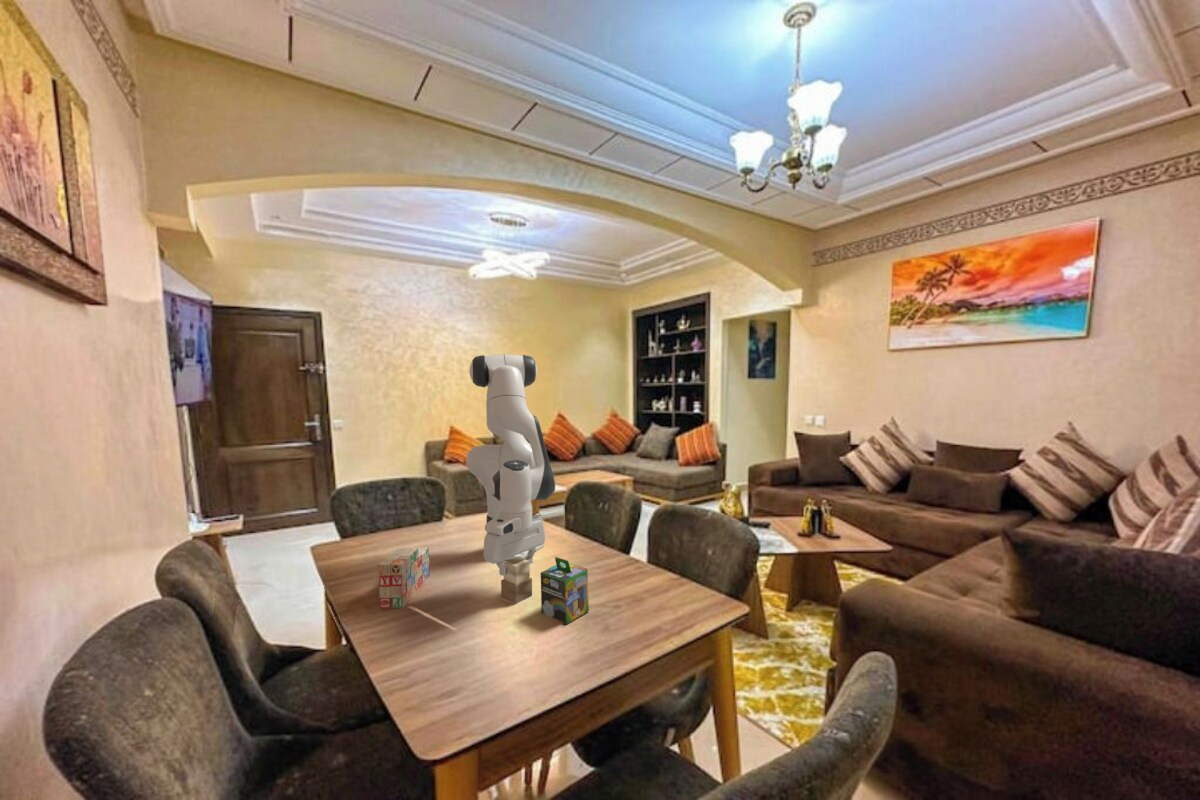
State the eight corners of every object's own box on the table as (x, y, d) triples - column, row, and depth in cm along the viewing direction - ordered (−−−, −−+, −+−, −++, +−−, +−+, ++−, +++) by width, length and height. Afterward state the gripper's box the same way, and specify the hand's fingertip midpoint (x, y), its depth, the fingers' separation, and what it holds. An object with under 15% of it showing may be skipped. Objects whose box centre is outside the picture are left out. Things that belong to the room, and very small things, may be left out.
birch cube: (517, 574, 131) (517, 556, 130) (529, 578, 128) (529, 560, 127) (503, 580, 127) (503, 562, 126) (516, 584, 124) (516, 566, 123)
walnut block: (517, 590, 131) (517, 573, 131) (532, 595, 128) (531, 578, 128) (501, 598, 127) (501, 580, 126) (516, 604, 123) (516, 585, 123)
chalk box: (589, 611, 120) (589, 556, 120) (565, 626, 113) (565, 567, 112) (563, 601, 126) (563, 548, 125) (539, 614, 119) (539, 558, 118)
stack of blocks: (409, 576, 143) (409, 537, 143) (429, 575, 144) (429, 537, 143) (379, 609, 122) (378, 563, 122) (402, 608, 122) (402, 563, 122)
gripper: (534, 509, 137) (534, 555, 137) (479, 526, 120) (480, 578, 121) (549, 513, 133) (550, 560, 133) (495, 531, 117) (496, 584, 117)
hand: (516, 568), depth 127 cm, fingers open, 8 cm apart
